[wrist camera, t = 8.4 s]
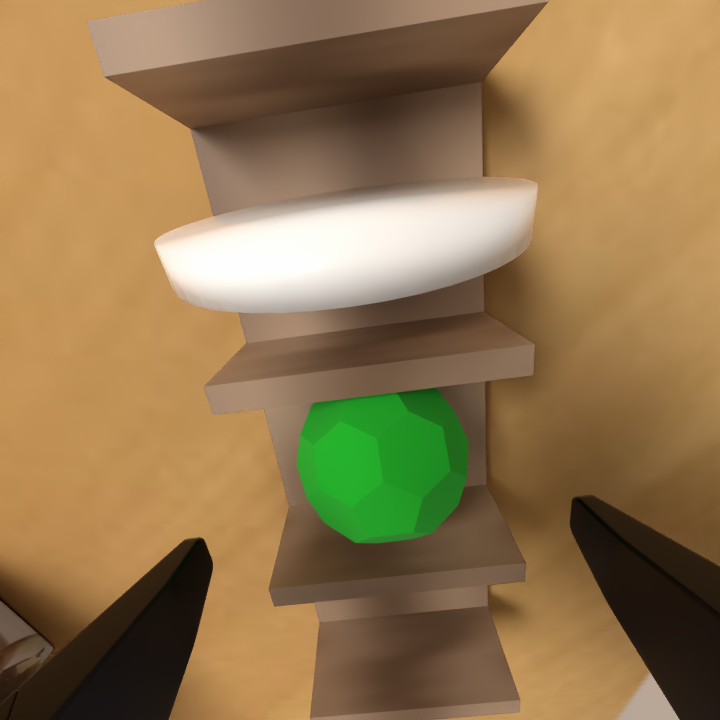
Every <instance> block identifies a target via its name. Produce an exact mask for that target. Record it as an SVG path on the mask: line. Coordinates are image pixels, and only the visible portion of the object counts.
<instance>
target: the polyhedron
mask: <svg viewBox="0 0 720 720" xmlns="http://www.w3.org/2000/svg"><path fill="white" fill-rule="evenodd" d="M468 447H469V441H468V439H467V437H466V435H465V433H464V430H463V428H462V426H461V424H460V422H459V420H458V418H457V416H456V414H455V412H454V411H453V409H452V408H451V406H450V405H449V404H448V402H447V401H446V400H445V398H444V397H443V396H442V394H441V393H440V392H439V390H438V389H437V388H428V389H420V390H411V391H403V392H395V393H387V394H379V395H371V396H363V397H355V398H347V399H339V400H331V401H323V402H315V403H314V404H313V405H312V406H311V408H310V411H309V413H308V416H307V418H306V421H305V423H304V426H303V428H302V431H301V434H300V440H299V449H298V458H297V468H298V471H299V475H300V478H301V481H302V484H303V488H304V491H305V494H306V498H307V499H308V501H309V502H310V503H311V505H312V506H313V508H314V509H315V510H316V512H317V513H318V515H319V516H320V518H321V519H322V520H323V522H324V523H325V524H327V525H328V526H330V527H331V528H333V529H334V530H336V531H338V532H339V533H341V534H342V535H344V536H345V537H347V538H349V539H350V540H352V541H353V542H355V543H385V542H393V541H401V540H409V539H414V538H418V537H421V536H425V535H428V534H432V533H433V532H434V531H435V530H436V529H437V528H438V526H439V525H440V524H441V523H442V522H443V521H444V520H445V519H446V518H447V517H448V516H449V515H450V514H451V513H452V512H453V510H454V509H455V508H456V507H457V506H458V504H459V501H460V498H461V495H462V491H463V488H464V485H465V482H466V479H467V472H468Z"/></svg>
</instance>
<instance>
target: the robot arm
mask: <svg viewBox="0 0 720 720" xmlns="http://www.w3.org/2000/svg"><path fill="white" fill-rule="evenodd" d="M570 528H571V531H572V534H573V536H574V538H575V540H576V542H577V544H578V546H579V548H580V550H581V552H582V554H583V556H584V558H585V560H586V562H587V564H588V566H589V568H590V570H591V572H592V574H593V576H594V578H595V580H596V582H597V584H598V586H599V588H600V590H601V592H602V593H603V595H604V597H605V599H606V601H607V603H608V604H609V606H610V608H611V609H612V611H613V613H614V615H615V616H616V618H617V619H618V621H619V623H620V624H621V626H622V627H623V629H624V631H625V632H626V634H627V635H628V637H629V639H630V640H631V642H632V644H633V645H634V647H635V648H636V650H637V652H638V653H639V655H640V656H641V658H642V660H643V661H644V663H645V665H646V666H647V668H648V669H649V671H650V673H651V674H652V676H653V677H654V679H655V681H656V682H657V684H658V685H659V687H660V688H661V690H662V692H663V694H664V695H665V697H666V698H667V700H668V701H669V703H670V705H671V706H672V708H673V710H674V711H675V713H676V714H677V716H678V718H679V719H680V720H720V566H718V565H716V564H715V563H713V562H711V561H709V560H708V559H706V558H704V557H702V556H700V555H699V554H697V553H695V552H693V551H691V550H690V549H688V548H686V547H684V546H683V545H681V544H679V543H677V542H675V541H674V540H672V539H670V538H668V537H666V536H665V535H663V534H661V533H659V532H658V531H656V530H654V529H652V528H650V527H649V526H647V525H645V524H643V523H641V522H640V521H638V520H636V519H634V518H633V517H631V516H629V515H627V514H625V513H624V512H622V511H620V510H618V509H617V508H615V507H613V506H611V505H609V504H608V503H606V502H604V501H602V500H600V499H599V498H597V497H595V496H592V495H585V496H576V497H574V498H573V500H572V505H571V516H570ZM212 571H213V561H212V558H211V556H210V553H209V550H208V548H207V545H206V543H205V540H204V539H203V538H200V537H198V538H189V539H185V540H184V541H182V542H181V543H180V544H179V545H178V546H177V547H176V548H174V549H173V550H172V551H171V552H170V553H169V554H168V555H167V556H166V557H164V558H163V559H162V560H161V561H160V562H159V563H158V564H157V565H155V566H154V567H153V568H152V569H151V570H150V571H149V572H148V573H146V574H145V575H144V576H143V577H142V578H141V579H140V580H139V581H138V582H136V583H135V584H134V585H133V586H132V587H131V588H130V589H129V590H127V591H126V592H125V593H124V594H123V595H122V596H121V597H120V598H118V599H117V600H116V601H115V602H114V603H113V604H112V605H111V606H109V607H108V608H107V609H106V610H105V611H104V612H103V613H102V614H101V615H99V616H98V617H97V618H96V619H95V620H94V621H93V622H92V623H90V624H89V625H88V626H87V627H86V628H85V629H84V630H83V631H81V632H80V633H79V634H78V635H77V636H76V637H75V638H74V639H72V640H71V641H70V642H69V643H68V644H67V645H66V646H65V647H64V648H62V649H61V650H60V651H59V652H58V653H57V654H56V655H55V656H53V657H52V658H51V659H50V660H49V661H48V662H47V663H46V664H44V665H43V666H42V667H41V668H40V669H39V670H38V671H37V672H35V673H34V674H33V675H32V676H31V677H30V678H29V679H28V680H26V681H25V682H24V683H23V684H22V685H21V686H20V688H19V690H16V691H14V692H13V693H12V694H11V695H10V696H8V697H7V698H6V699H5V700H4V701H3V702H2V703H1V704H0V720H169V717H170V714H171V711H172V708H173V705H174V702H175V699H176V696H177V693H178V690H179V687H180V684H181V682H182V679H183V676H184V673H185V670H186V667H187V664H188V661H189V658H190V655H191V652H192V649H193V646H194V643H195V639H196V636H197V632H198V628H199V624H200V620H201V616H202V612H203V608H204V604H205V600H206V596H207V592H208V587H209V583H210V579H211V575H212Z"/></svg>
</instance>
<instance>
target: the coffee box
mask: <svg viewBox="0 0 720 720" xmlns="http://www.w3.org/2000/svg"><path fill="white" fill-rule="evenodd" d="M52 651H53V646H52V645H51V644H50V643H48V642H47V641H46V640H45V639H44V638H42V637H41V636H40V635H39V634H38V633H37V632H36V631H34V630H33V629H32V628H31V627H30V626H29V625H28V624H27V623H25V622H24V621H23V620H22V619H21V618H20V617H19V616H17V615H16V614H15V613H14V612H13V611H12V610H11V609H9V608H8V607H7V606H6V605H5V604H4V603H3V602H1V601H0V704H1V703H2V702H3V701H4V700H5V699H6V698H7V697H8V696H10V695H11V694H12V693H13V692H14V691H16V690H19V688H20V686H21V685H22V684H23V683H24V682H25V681H26V680H28V679H29V678H30V677H31V676H32V675H33V674H34V673H35V672H37V671H38V670H39V669H40V667H41V666H42V665H43V663H44V662H45V661H46V659H47V658H48V657H49V655H50V654H51V653H52Z"/></svg>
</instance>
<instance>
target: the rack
mask: <svg viewBox="0 0 720 720" xmlns="http://www.w3.org/2000/svg"><path fill="white" fill-rule="evenodd" d="M548 2H549V0H203V1H198V2H192V3H187V4H181V5H175V6H170V7H164V8H158V9H153V10H147V11H141V12H136V13H130V14H124V15H119V16H113V17H107V18H102V19H96V20H90V21H86V22H87V25H88V28H89V31H90V34H91V38H92V41H93V44H94V47H95V50H96V53H97V56H98V59H99V62H100V66H101V69H102V72H103V75H104V77H105V78H107V79H109V80H110V81H112V82H114V83H115V84H117V85H119V86H120V87H122V88H124V89H125V90H127V91H129V92H130V93H132V94H134V95H135V96H137V97H139V98H140V99H142V100H144V101H145V102H147V103H149V104H150V105H152V106H154V107H155V108H157V109H159V110H160V111H162V112H163V113H165V114H167V115H168V116H170V117H172V118H173V119H175V120H177V121H178V122H180V123H182V124H183V125H185V126H187V127H188V128H190V129H191V133H192V137H193V140H194V144H195V148H196V152H197V156H198V160H199V163H200V167H201V171H202V175H203V179H204V183H205V186H206V190H207V194H208V198H209V202H210V205H211V209H212V213H213V216H217V215H220V214H224V213H228V212H232V211H236V210H240V209H245V208H249V207H253V206H258V205H263V204H267V203H272V202H277V201H282V200H287V199H292V198H298V197H303V196H309V195H315V194H321V193H327V192H333V191H339V190H346V189H353V188H360V187H367V186H374V185H382V184H391V183H399V182H409V181H419V180H430V179H443V178H459V177H483V157H482V81H483V80H484V78H485V77H486V76H487V75H488V74H489V72H490V71H491V70H492V69H493V68H494V66H495V65H496V64H497V63H498V62H499V60H500V59H501V58H502V57H503V56H504V54H505V53H506V52H507V51H508V50H509V48H510V47H511V46H512V45H513V44H514V42H515V41H516V40H517V39H518V38H519V36H520V35H521V34H522V33H523V32H524V30H525V29H526V28H527V27H528V26H529V24H530V23H531V22H532V21H533V20H534V18H535V17H536V16H537V15H538V14H539V12H540V11H541V10H542V9H543V8H544V6H545V5H546V4H547V3H548ZM238 313H239V312H238ZM239 316H240V320H241V324H242V328H243V332H244V335H245V339H246V344H245V345H244V346H243V347H242V348H241V349H240V350H239V351H238V352H237V353H236V354H235V355H234V356H233V357H232V358H231V359H230V360H229V361H228V362H227V363H226V365H225V366H224V367H223V368H222V369H221V370H220V371H219V372H218V373H217V374H216V375H215V376H214V377H213V378H212V379H211V380H210V381H209V382H208V383H207V384H206V385H205V386H204V389H205V392H206V396H207V399H208V402H209V405H210V408H211V411H212V414H213V415H219V414H227V413H235V412H243V411H251V410H259V409H264V412H265V416H266V420H267V423H268V427H269V431H270V435H271V439H272V442H273V446H274V450H275V454H276V458H277V462H278V465H279V469H280V473H281V477H282V481H283V485H284V488H285V492H286V496H287V500H288V504H289V510H288V514H287V518H286V522H285V526H284V530H283V534H282V538H281V542H280V546H279V550H278V554H277V558H276V562H275V566H274V570H273V574H272V578H271V582H270V586H269V592H270V595H271V598H272V601H273V604H274V607H275V606H285V605H295V604H305V603H315V607H316V611H317V614H318V618H319V622H320V623H319V633H318V643H317V653H316V663H315V673H314V684H313V694H312V704H311V714H310V719H311V720H436V719H448V718H460V717H472V716H483V715H495V714H507V713H519V712H520V698H519V695H518V692H517V689H516V686H515V683H514V680H513V678H512V675H511V672H510V669H509V666H508V663H507V660H506V657H505V654H504V651H503V649H502V646H501V643H500V640H499V637H498V634H497V631H496V628H495V625H494V622H493V619H492V617H491V614H490V611H489V608H488V585H495V584H505V583H515V582H525V572H526V562H525V560H524V558H523V556H522V554H521V552H520V550H519V548H518V546H517V544H516V542H515V540H514V538H513V536H512V534H511V532H510V530H509V528H508V526H507V524H506V522H505V520H504V518H503V516H502V515H501V513H500V511H499V509H498V507H497V505H496V503H495V501H494V499H493V497H492V495H491V493H490V491H489V489H488V487H487V485H486V410H485V381H492V380H500V379H508V378H516V377H524V376H532V375H534V350H535V344H534V343H532V342H531V341H529V340H528V339H526V338H524V337H523V336H521V335H520V334H518V333H517V332H515V331H514V330H512V329H511V328H509V327H507V326H506V325H504V324H503V323H501V322H500V321H498V320H497V319H495V318H494V317H492V316H490V315H489V314H487V313H486V312H484V274H483V275H481V276H478V277H475V278H472V279H469V280H466V281H463V282H461V283H458V284H455V285H452V286H448V287H444V288H441V289H437V290H433V291H429V292H426V293H422V294H418V295H413V296H408V297H404V298H399V299H394V300H389V301H385V302H378V303H372V304H366V305H360V306H353V307H346V308H337V309H328V310H319V311H308V312H291V313H239ZM428 388H437V389H438V390H439V392H440V393H441V394H442V396H443V397H444V398H445V400H446V401H447V402H448V404H449V405H450V406H451V408H452V409H453V411H454V412H455V414H456V416H457V418H458V420H459V422H460V424H461V426H462V428H463V430H464V433H465V435H466V437H467V439H468V441H469V447H468V472H467V479H466V482H465V485H464V488H463V491H462V495H461V498H460V501H459V504H458V506H457V507H456V508H455V509H454V510H453V512H452V513H451V514H450V515H449V516H448V517H447V518H446V519H445V520H444V521H443V522H442V523H441V524H440V525H439V526H438V528H437V529H436V530H435V531H434V532H433V533H432V534H428V535H425V536H421V537H418V538H414V539H409V540H401V541H393V542H385V543H355V542H353V541H352V540H350V539H349V538H347V537H345V536H344V535H342V534H341V533H339V532H338V531H336V530H334V529H333V528H331V527H330V526H328V525H327V524H325V523H324V522H323V520H322V519H321V518H320V516H319V515H318V513H317V512H316V510H315V509H314V508H313V506H312V505H311V503H310V502H309V501H308V499H307V498H306V494H305V491H304V488H303V484H302V481H301V478H300V475H299V471H298V468H297V458H298V449H299V440H300V434H301V431H302V428H303V426H304V423H305V421H306V418H307V416H308V413H309V411H310V408H311V406H312V405H313V404H314V403H315V402H323V401H331V400H339V399H347V398H355V397H363V396H371V395H379V394H387V393H395V392H403V391H411V390H420V389H428Z"/></svg>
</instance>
